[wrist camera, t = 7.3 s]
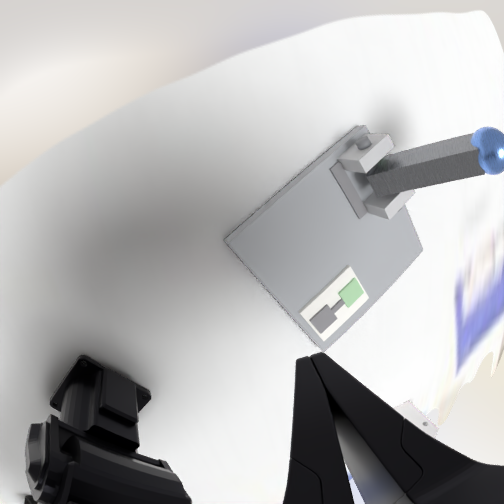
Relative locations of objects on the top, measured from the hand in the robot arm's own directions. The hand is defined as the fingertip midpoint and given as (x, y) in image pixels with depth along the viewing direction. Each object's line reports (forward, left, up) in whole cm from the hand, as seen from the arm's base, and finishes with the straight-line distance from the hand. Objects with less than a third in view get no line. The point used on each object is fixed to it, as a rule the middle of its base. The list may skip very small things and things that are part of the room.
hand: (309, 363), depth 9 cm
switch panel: (+6, -8, -13) cm, 16 cm away
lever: (+11, -5, -10) cm, 16 cm away
